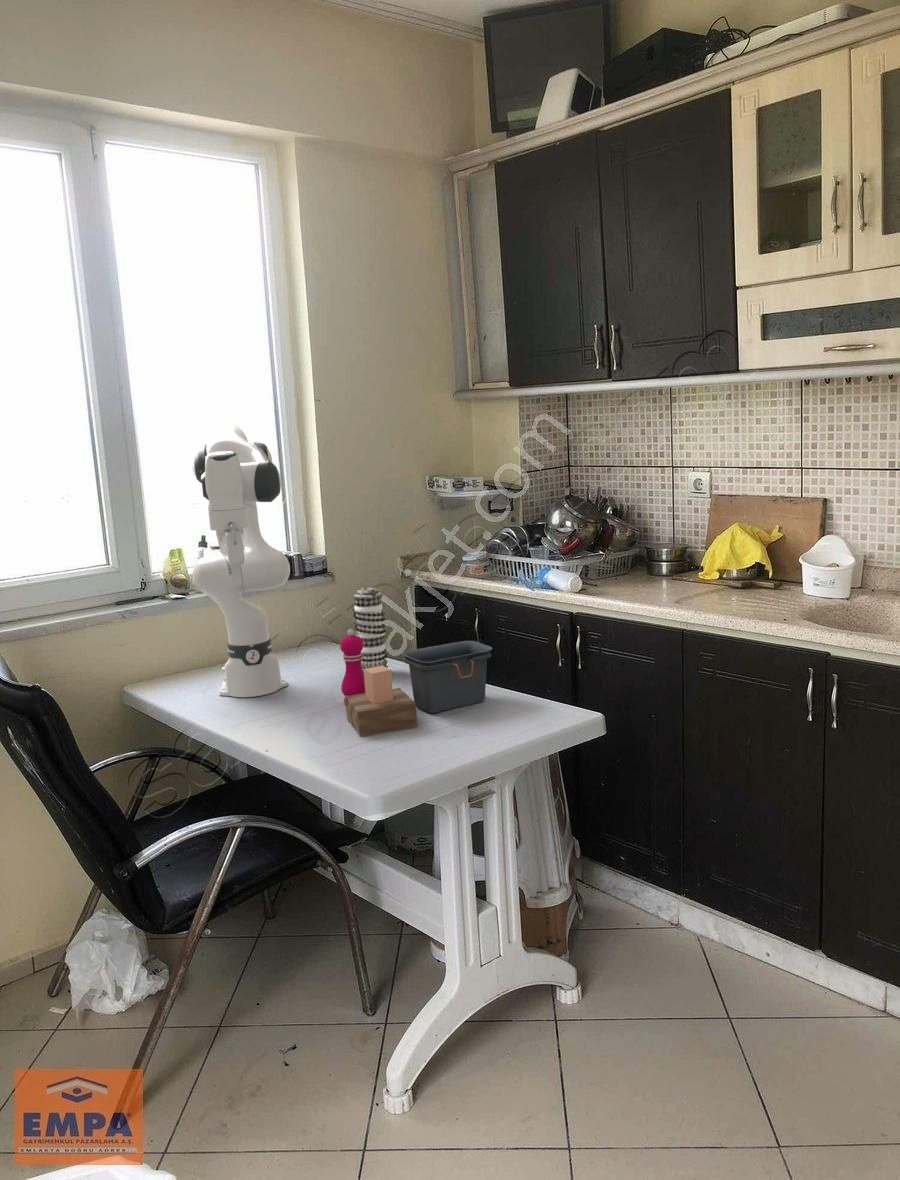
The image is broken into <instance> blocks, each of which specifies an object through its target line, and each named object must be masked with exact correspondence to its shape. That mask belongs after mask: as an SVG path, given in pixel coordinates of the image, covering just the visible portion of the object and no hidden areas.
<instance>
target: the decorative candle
mask: <svg viewBox="0 0 900 1180" xmlns="http://www.w3.org/2000/svg"><path fill="white" fill-rule="evenodd" d="M382 593H383V592H381V591H379V589H378V588H376V587H374V586H373V587H372V586H371V587H369V586H368V587H362V588H359V589H357V590H356V592H355V593H354V594H353V597H354V608H352V617H353V618H354V620H353V624H354V628H353V630H356V631H355V632H354V635H357V636H359V637H360V638H361V639H362V640H363V644H364V647H363V649H362V651H361V653H362V657H363V658H362V659H361V666H362V670H363V672H364V669H367V668H372V667H377V666H384V667H386V668H388V669H389V666H388V660H387V658H388V655H387V654H386V653H387V651H388V650H387V649H386V643H385V636H384V635H386V629H385V627H386V624H384V623H383V622H384V621H386V618H385V614H386V613H385V612H384V611H383V603H382Z"/></svg>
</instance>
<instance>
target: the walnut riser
mask: <svg viewBox="0 0 900 1180" xmlns="http://www.w3.org/2000/svg"><path fill="white" fill-rule="evenodd" d="M392 689H393V700H391V701H386V702H381V703H377V704H373V703H372V702H370V701H368V700H367V699H366V694H365V693H363V694H356V695H350V696H345V695H344V698H345V701H346V706H345V709H346V721H348V723H349V725H350V726H352V729H354V731H355V732H356V734H358V736H359V738H360V737H362V738H363V737H366V736H373V735H379V734H384V733H391V732H398V731H403V730H409V729H413V728H418V717H417V716H418V714H417V707H416V703H415V702H414V699H412V698H411V697H410V696H409V695H408V694H407V693H406V692H405V691H404V690H403V689H402V688H401V687H396V688H392Z"/></svg>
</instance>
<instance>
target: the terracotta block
mask: <svg viewBox="0 0 900 1180" xmlns="http://www.w3.org/2000/svg"><path fill="white" fill-rule="evenodd" d="M392 679H393V678H392V669H390V668H389V667H388V668H386V667H384V666H377V667H372V668H367V669H364V682H365V694H366V699H367V700H368V701H370V702H372V703H373V704H377V703H381V702H386V701H391V700H393V689H394V688H393V680H392Z"/></svg>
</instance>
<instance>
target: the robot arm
mask: <svg viewBox="0 0 900 1180" xmlns="http://www.w3.org/2000/svg"><path fill="white" fill-rule="evenodd" d="M191 469H192V472H193V475H194V476H195V478H196V480H197V481H198V482H199V483H200V484H201V489H202V497H204V498H205V499H206V500H207V501H208V505H207V510H208V520H209V528H210V529H209V530H211V531H215V533H216V534H215V535H216V538H217V542H218V547H219V550H220V553H215V554H211V555H207V556H204V557H201V558H199V559H198V560H197V561H196V563H195V565H194V567H193V571H192V578H193V582H194V584H195V586H196V588H197V589H198V590H199V591H200V592H201V593H202V594H205V595H206V596H208V597H209V598H210V599H212V600H213V601H214V602H215V603H216V605H218V607H219V608H220V610H221V612H222V614H223V617H224V621H225V626H226V632H227V639H228V642H227V648H226V652H227V656H228V660H227V661H226V662H225V664H224V666H222V667H221V674H222V676H224V678H223V681H222V684H221V686H220V689H219V691H218V692H219V694H220V695H219V696H226V697H227V696H228V697H235V698H252V697H259V696H264V695H268V694H271V693H272V694H273V693H275V692H277V691H278V690H280V689H282V688H284V687H288V686H289V684H288V681H287V680H286V679H284V678H283V677H281V669H280V661H279V658H278V657H277V655H275V654H274V653H272V652H273V643H272V639H271V637H270V633H269V624H268V623H269V622H268V614H267V612H266V611H265V609H264V608H263V607H261V606H259V605H257V604H255V603H253V602H250V601H247V600H246V599H244V597H243V596H242V594H243V593H244V592H245V593H248V592H257V591H268V590H272V589H275V588H279V587H283V586H285V584H286V583H287V581H288V580H289V578H290V573H291V565H290V562H289V560H288V557H287V556H285V554H284V553H283V552H282V551H280V550H278V549H276V548H274V547H273V546H271V545H270V544H269V543H268V542H266V541H265V539H264V537H263V536H262V534H261V529H260V524H259V515H258V514H259V513H258V507H257V506H258V505H257V503H258V502H259V503H272V502H273V501H274V500H275V499H277V497H278V496H279V495H280V494H281V490H282V479H281V478H282V477H281V474H280V471H279V470H278V467H277V465H275V463H274V462H273V457H272V454H271V452H270V450H269V448H268V446H267V445H266V444H265V443H262V442H255V441H254V442H249V441H248V437H247V436H246V434H245V432H244V431H243V430H242V429H241V428H240V427H239V426H237V425H235V424H232V423H223V424H220V425H219V426H217V427H216V428H214V430H213V431H212V432H211V434H210V436H209V437H208V439H207V444H206V443H203V446H200V447H198V448H197V449H196V450H195V451H194V452H193V456H192V459H191Z"/></svg>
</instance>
